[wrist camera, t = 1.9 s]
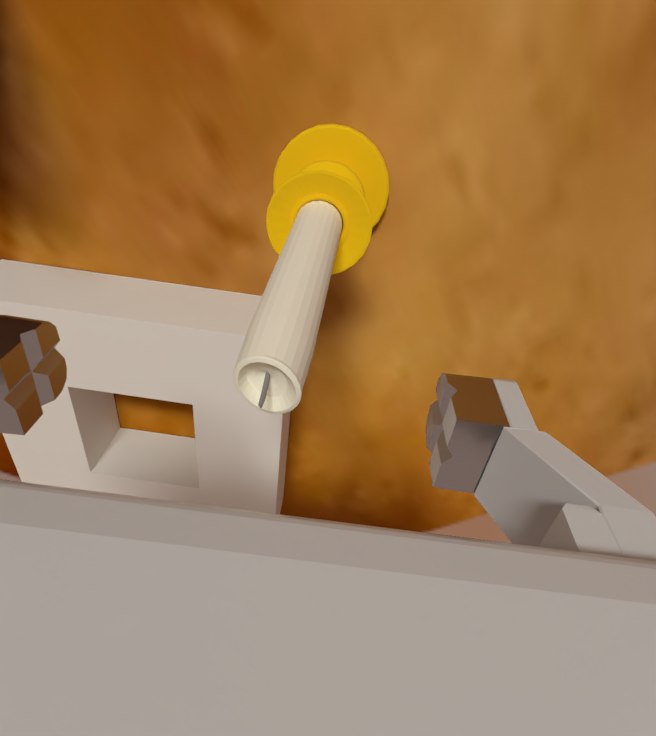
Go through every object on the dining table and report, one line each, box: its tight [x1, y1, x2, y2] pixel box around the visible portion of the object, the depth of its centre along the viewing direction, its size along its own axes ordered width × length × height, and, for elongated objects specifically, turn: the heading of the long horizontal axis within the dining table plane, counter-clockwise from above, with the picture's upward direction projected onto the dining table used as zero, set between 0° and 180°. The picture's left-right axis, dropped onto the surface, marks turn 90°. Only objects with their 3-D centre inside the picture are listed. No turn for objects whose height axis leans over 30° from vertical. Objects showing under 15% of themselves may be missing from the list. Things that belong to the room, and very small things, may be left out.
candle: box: [234, 124, 389, 414], centre depth 15 cm, size 5×5×16 cm
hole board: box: [0, 259, 291, 514], centre depth 28 cm, size 16×16×4 cm
